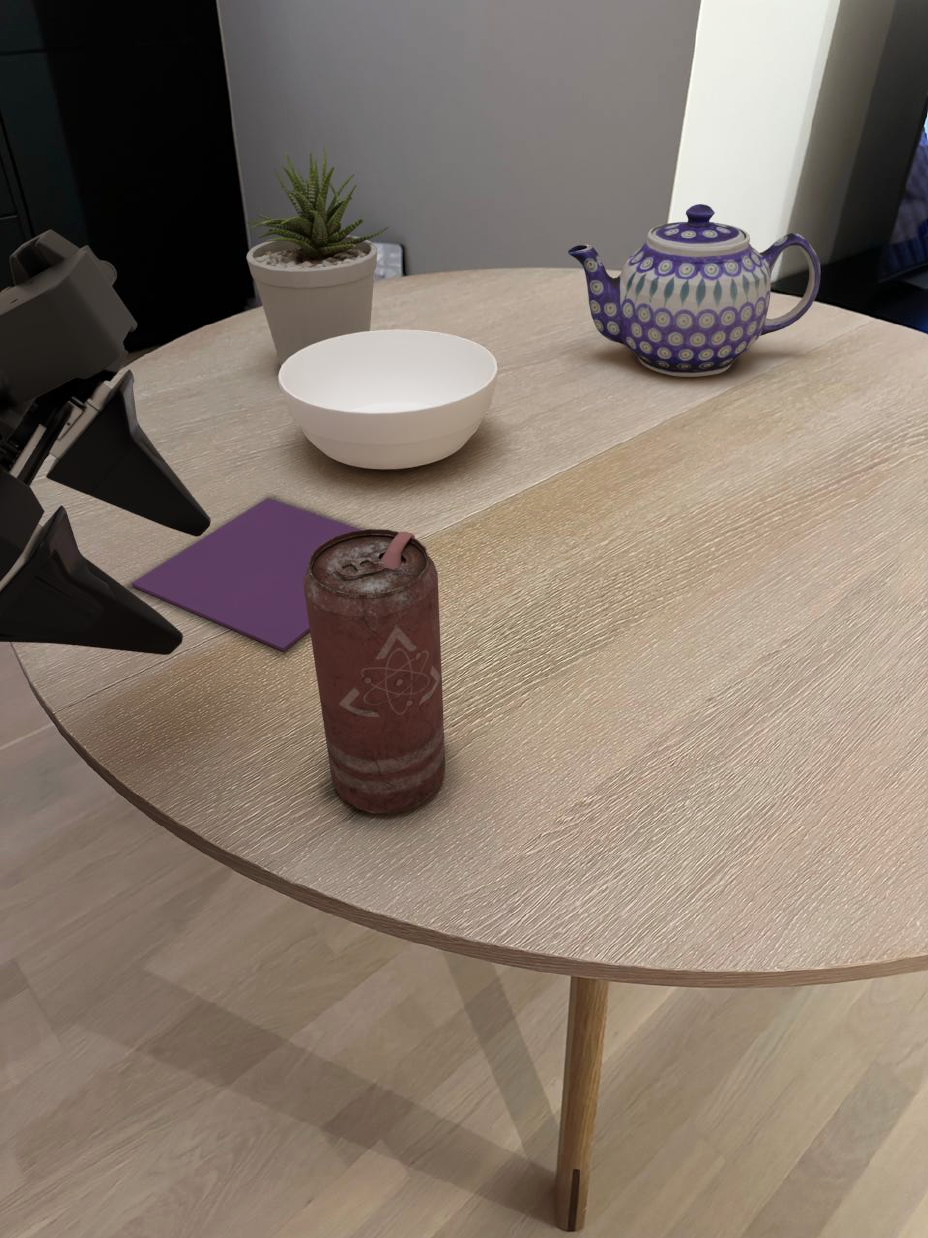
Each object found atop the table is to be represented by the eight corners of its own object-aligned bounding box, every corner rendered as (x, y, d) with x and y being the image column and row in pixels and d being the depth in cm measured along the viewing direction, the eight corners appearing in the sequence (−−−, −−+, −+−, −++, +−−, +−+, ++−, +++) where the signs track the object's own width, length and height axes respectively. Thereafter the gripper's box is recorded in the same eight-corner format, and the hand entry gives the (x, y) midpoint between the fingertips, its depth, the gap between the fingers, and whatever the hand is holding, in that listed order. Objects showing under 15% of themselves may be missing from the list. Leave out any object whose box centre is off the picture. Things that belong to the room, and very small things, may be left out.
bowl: (260, 430, 85) (248, 353, 80) (438, 389, 92) (435, 315, 87) (337, 519, 72) (327, 433, 67) (537, 463, 79) (540, 381, 74)
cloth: (132, 586, 65) (131, 583, 65) (268, 501, 74) (267, 497, 74) (283, 652, 59) (283, 648, 59) (411, 549, 68) (410, 546, 68)
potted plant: (417, 368, 96) (407, 155, 84) (296, 400, 90) (266, 175, 78) (358, 333, 104) (341, 135, 92) (244, 361, 98) (210, 153, 86)
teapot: (788, 332, 102) (817, 185, 93) (823, 388, 90) (861, 225, 81) (559, 332, 104) (566, 187, 95) (564, 386, 91) (572, 226, 82)
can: (465, 752, 51) (461, 536, 43) (412, 834, 47) (396, 610, 38) (370, 721, 53) (347, 510, 45) (310, 797, 49) (273, 577, 40)
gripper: (-174, 257, 24) (300, 592, 31) (29, 129, 39) (317, 377, 46) (-348, 532, 28) (109, 770, 35) (-103, 320, 43) (181, 520, 50)
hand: (192, 582), depth 42 cm, fingers open, 9 cm apart
